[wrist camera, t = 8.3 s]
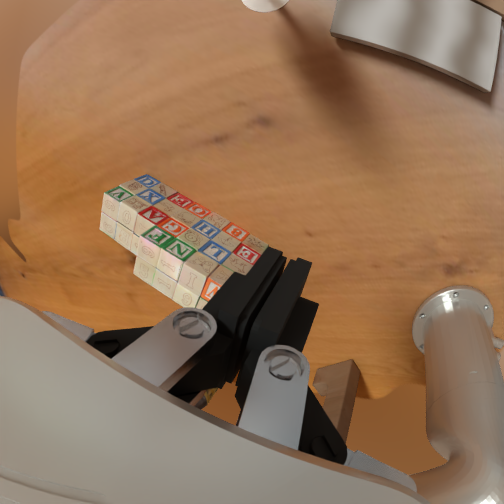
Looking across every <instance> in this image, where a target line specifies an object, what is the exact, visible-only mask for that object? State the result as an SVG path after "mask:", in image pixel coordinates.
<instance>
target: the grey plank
mask: <svg viewBox="0 0 504 504" xmlns="http://www.w3.org/2000/svg"><path fill="white" fill-rule="evenodd" d="M501 18H502V17H501V16H500V15H498V14H496V13H494V12H492V11H490V10H488V9H487V8H485V7H483V6H481V5H479V4H477V3H474V2H472V1H470V0H337V3H336V8H335V12H334V16H333V21H332V25H331V29H330V33H331V35H332V36H333V37H337V38H341V39H345V40H349V41H353V42H357V43H360V44H364V45H367V46H371V47H374V48H377V49H381V50H384V51H387V52H390V53H393V54H396V55H399V56H402V57H404V58H407V59H410V60H413V61H415V62H418V63H420V64H423V65H426V66H428V67H431V68H433V69H435V70H438V71H440V72H442V73H445V74H447V75H449V76H451V77H454V78H456V79H458V80H460V81H462V82H464V83H466V84H468V85H470V86H472V87H474V88H476V89H478V90H480V91H482V92H484V93H486V92H491V87H492V82H493V77H494V72H495V66H496V60H497V53H498V46H499V38H500V29H501Z"/></svg>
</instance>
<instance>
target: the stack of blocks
mask: <svg viewBox="0 0 504 504" xmlns="http://www.w3.org/2000/svg"><path fill="white" fill-rule="evenodd" d="M100 230H101V231H103V232H104V233H106V234H107V235H108V236H110V237H111V238H113V239H114V240H115V241H116V242H118V243H119V244H121V245H122V246H124V247H125V248H127V249H128V250H130V251H131V252H132V253H134V254H135V255H137V256H136V262H135V267H134V272H133V273H134V274H135V275H136V276H138V277H139V278H140V279H142V280H143V281H145V282H146V283H148V284H149V285H151V286H153V287H154V288H155V289H157V290H158V291H160V292H161V293H163V294H165V295H166V296H167V297H169V298H171V299H172V300H173V301H175V302H176V303H178V304H180V305H181V306H183V307H184V308H186V307H193V308H198V309H203V307H204V306H205V305H206V304H207V303H208V301H209V300H210V299H211V298H212V297H213V296H214V294H215V293H216V292H217V291H218V290H219V289H220V287H221V286H222V285H223V284H224V283H225V282H226V280H227V279H228V278H229V277H230V276H231V275H232V274H233V273H234V272H238V273H241V274H243V275H246V274H247V273H248V272H249V270H250V269H251V268H252V267H253V265H254V264H255V263H256V261H257V260H258V259H259V258H260V256H261V255H262V254H263V252H264V251H265V250H266V248H267V247H268V246H269V245H268V244H266V243H264V242H263V241H261V240H259V239H258V238H256V237H254V236H253V235H251V234H250V233H249V232H247V231H245V230H244V229H242V228H240V227H239V226H237V225H235V224H233V223H232V222H230V221H228V220H227V219H225V218H223V217H222V216H220V215H218V214H216V213H215V212H211V211H210V210H208V209H206V208H204V207H203V206H201V205H199V204H198V203H196V202H193V201H192V200H190V199H188V198H187V197H185V196H183V195H181V194H180V193H177V191H176V190H174V189H172V188H170V187H169V186H167V185H165V184H163V183H161V182H160V181H158V180H156V179H154V178H153V177H151V176H149V175H147V174H146V175H143V176H141V177H138V178H135V179H134V180H130V181H128V182H125V183H123V184H121V185H120V186H118V187H115V188H113V189H111V190H109V191H107V192H104V198H103V205H102V214H101V222H100Z"/></svg>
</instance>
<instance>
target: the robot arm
mask: <svg viewBox="0 0 504 504" xmlns="http://www.w3.org/2000/svg"><path fill="white" fill-rule="evenodd" d="M282 254H283V252H282V251H279V250H276V249H274V248H271V247H267V248H266V250H265V251H264V252H263V254H262V255H261V256H260V258H259V259H258V260H257V261H256V263H255V264H254V265H253V267H252V268H251V269H250V270H249V272H248V273H247V274H246V275H243V274H241V273H238V272H234V273H233V274H232V275H231V276H230V277H229V278H228V279H227V280H226V282H225V283H224V284H223V285H222V286H221V287H220V289H219V290H218V291H217V292H216V293H215V294H214V296H213V297H212V298H211V299H210V300H209V301H208V303H207V304H206V305H205V306H204V307H203V309H198V308H193V307H186V308H181V309H178V310H176V311H174V312H173V313H171V314H170V315H169V316H167V317H166V318H165V319H163V320H162V321H161V322H159V323H158V324H157V325H155V326H152V327H142V328H132V329H122V330H110V331H103V332H98V333H94V329H92V328H89V327H87V326H84V325H82V324H79V323H76V322H74V321H71V320H69V319H66V318H64V317H62V316H59V315H57V314H54V313H52V312H48V311H42V312H41V311H39V310H37V309H36V308H34V307H32V306H30V305H28V304H26V303H23V302H21V301H19V300H15V299H12V298H8V297H3V296H0V504H504V381H503V377H502V373H501V369H500V365H499V360H500V357H501V355H500V353H499V352H497V351H495V348H498V349H501V348H502V347H503V345H504V340H502V339H500V338H496V337H494V334H493V331H492V326H493V321H494V313H493V309H492V305H491V303H490V301H489V299H488V298H487V297H486V295H485V294H484V293H482V292H481V291H480V290H478V289H476V288H473V287H469V286H452V287H448V288H445V289H442V290H440V291H438V292H436V293H434V294H433V295H431V296H430V297H429V298H428V299H426V300H425V301H424V302H423V304H422V305H421V306H420V307H419V309H418V310H417V312H416V314H415V316H414V319H413V323H412V336H413V340H414V343H415V345H416V347H417V348H418V350H420V351H421V352H422V353H423V354H424V356H425V375H426V432H427V437H428V440H429V442H430V444H431V445H432V447H433V448H434V449H435V450H436V451H437V452H438V453H439V454H440V455H441V456H442V457H444V458H445V459H446V460H448V462H447V463H446V464H444V465H442V466H439V467H436V468H433V469H430V470H427V471H424V472H420V473H416V474H412V475H407V474H405V473H402V472H400V471H398V470H396V469H394V468H392V467H390V466H388V465H386V464H384V463H382V462H380V461H378V460H376V459H374V458H372V457H370V456H368V455H366V454H364V453H362V452H360V451H358V450H357V451H355V452H353V451H351V450H349V449H347V446H346V444H345V442H344V440H343V438H342V437H341V435H340V434H339V432H338V431H337V429H336V428H335V426H334V425H333V423H332V422H331V420H330V419H329V417H328V415H327V414H326V412H325V411H324V409H323V408H322V406H321V405H320V403H319V402H318V400H317V399H316V397H315V395H314V394H313V392H312V391H311V389H310V388H309V386H308V380H309V373H310V367H309V363H308V361H307V358H306V357H305V356H304V355H303V354H302V351H303V348H304V345H305V343H306V340H307V337H308V334H309V332H310V329H311V326H312V323H313V320H314V317H315V315H316V312H317V309H318V306H319V304H318V303H315V302H313V301H310V300H308V299H305V298H302V297H300V296H301V293H302V290H303V288H304V285H305V282H306V279H307V276H308V274H309V271H310V268H311V265H312V262H309V261H306V260H304V259H301V258H297V260H296V261H295V260H292V259H291V260H290V261H289V263H288V265H287V267H286V268H285V270H284V266H285V263H286V259H287V257H284V256H282ZM283 270H284V272H283ZM239 370H240V371H239ZM238 371H239V374H238V378H237V381H236V386H238V387H237V390H236V394H235V397H236V400H237V402H238V404H239V406H240V408H241V411H240V414H239V417H238V420H237V424H236V426H235V425H233V424H230V423H228V422H226V421H224V420H221V419H219V418H217V417H215V416H213V415H211V414H209V413H207V412H205V411H202V410H200V409H198V408H196V407H194V406H195V405H196V403H197V402H198V401H199V400H200V399H201V398H202V397H203V396H204V394H205V393H206V390H208V389H213V388H217V387H218V388H220V389H222V387H223V385H224V384H225V382H229V383H232V382H233V380H234V378H235V376H236V375H237V373H238Z"/></svg>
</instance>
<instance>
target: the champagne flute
mask: <svg viewBox="0 0 504 504" xmlns="http://www.w3.org/2000/svg"><path fill="white" fill-rule="evenodd" d="M288 1H289V0H242V2H243V3H244V4H245V5H246V6H247V7H248V8H249V9H251V10H254V11H257V12H271V11H274V10H277V9H279V8H281V7H282V6H284V5H285V4H286V3H287V2H288Z"/></svg>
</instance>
